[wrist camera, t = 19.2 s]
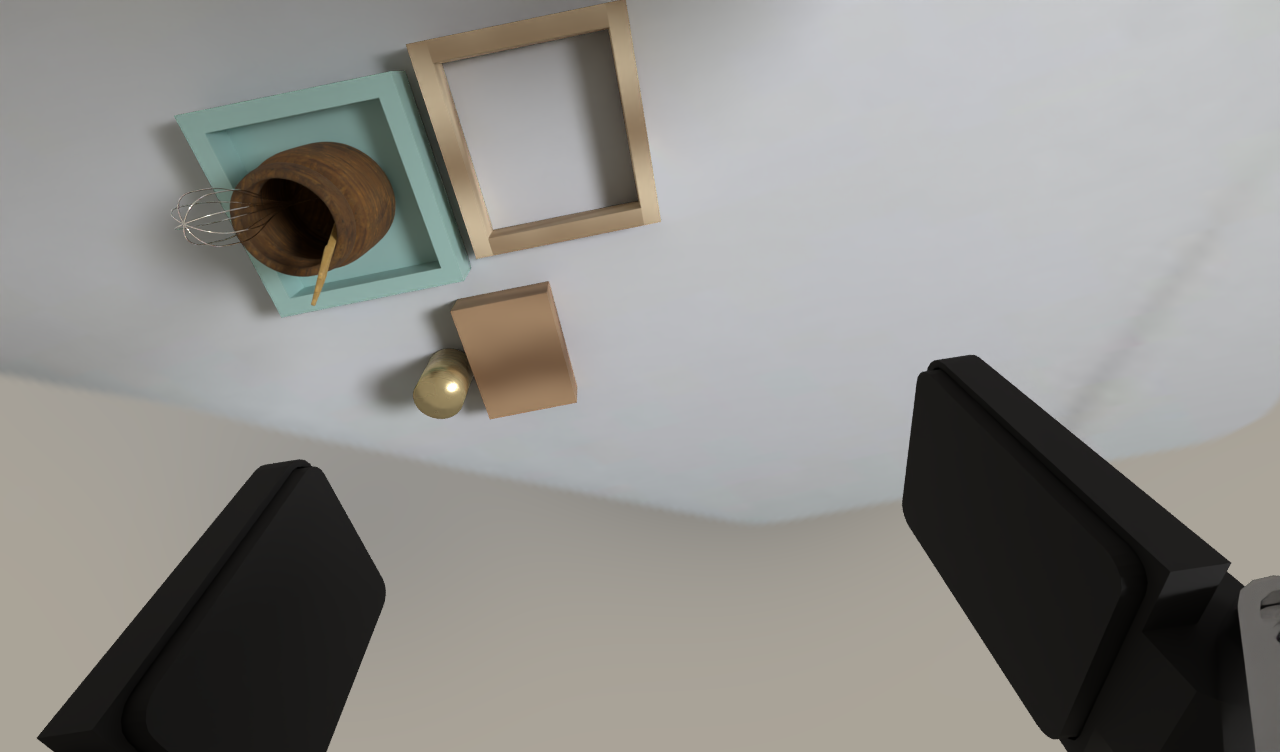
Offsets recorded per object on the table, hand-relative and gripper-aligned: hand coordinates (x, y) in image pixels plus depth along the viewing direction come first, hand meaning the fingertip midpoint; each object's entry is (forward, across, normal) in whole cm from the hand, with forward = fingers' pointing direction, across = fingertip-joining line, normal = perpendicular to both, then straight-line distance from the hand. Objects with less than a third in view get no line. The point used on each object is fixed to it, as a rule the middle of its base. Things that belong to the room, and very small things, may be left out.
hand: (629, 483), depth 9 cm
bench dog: (+27, +13, +11) cm, 32 cm away
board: (+28, +8, +10) cm, 31 cm away
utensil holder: (+27, +15, -1) cm, 31 cm away
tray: (+28, +15, -1) cm, 31 cm away
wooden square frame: (+28, +3, -2) cm, 28 cm away
